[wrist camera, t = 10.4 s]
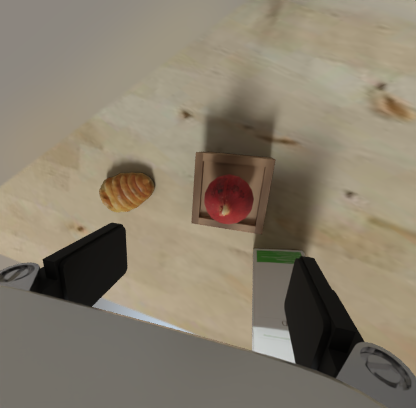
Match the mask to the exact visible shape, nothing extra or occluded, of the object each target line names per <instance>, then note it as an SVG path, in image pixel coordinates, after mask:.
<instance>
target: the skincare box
mask: <svg viewBox="0 0 416 408" xmlns="http://www.w3.org/2000/svg"><path fill="white" fill-rule="evenodd" d="M300 256H304V257H305V255H304V252H303V251H301V250H279V249H257V248H255V249H253V296H252V351H255V352H258V353H262V354H265V355H269V356H273V357H276V358H279V359H283V360H286V361H289V362H292V363H295V359H294V354H293V349H292V344H291V339H290V335H289V330H288V325H287V320H286V315H285V310H284V302H285V298H286V294H287V290H288V286H289V282H290V278H291V274H292V270H293V266H294V262H295V259H296V258H300Z"/></svg>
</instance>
